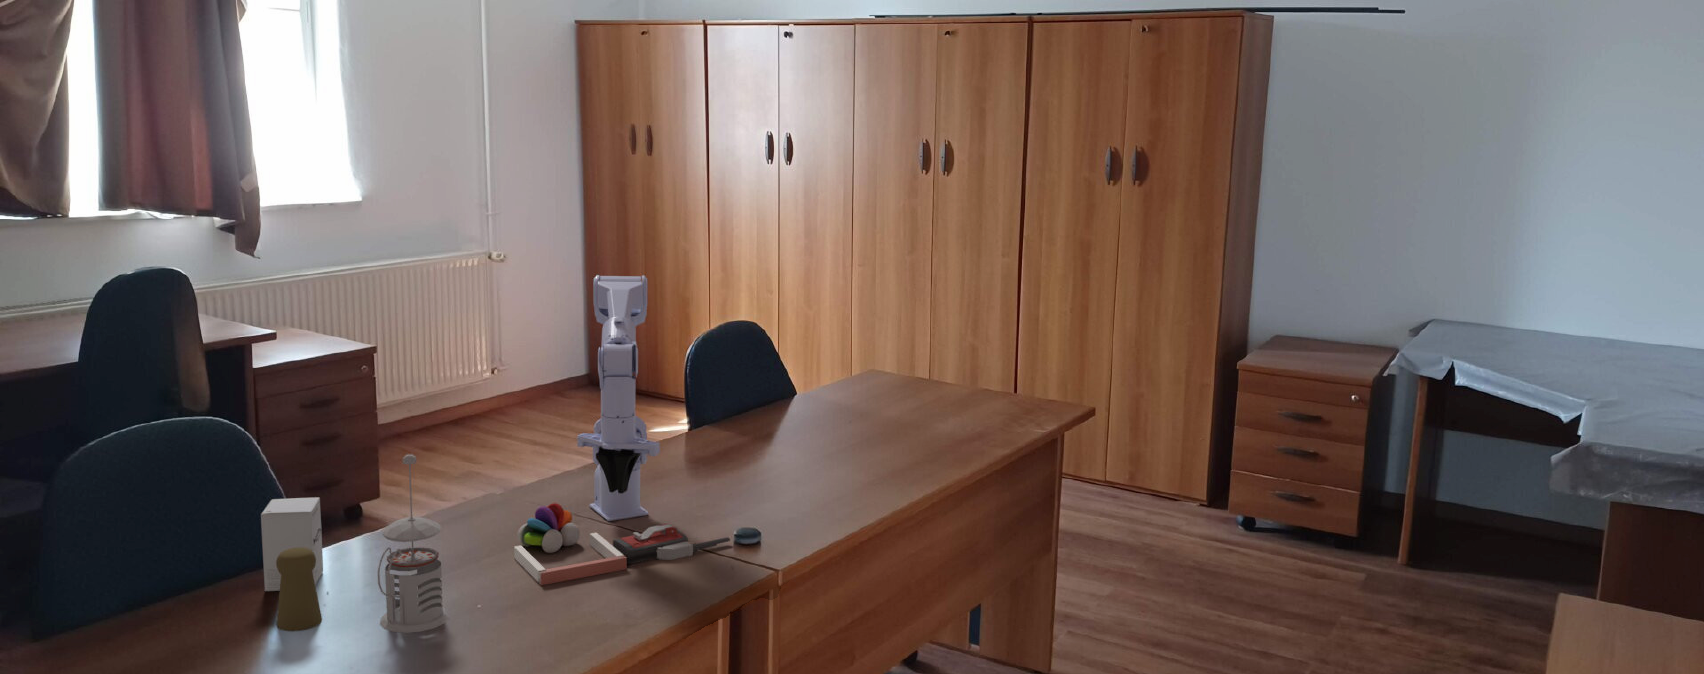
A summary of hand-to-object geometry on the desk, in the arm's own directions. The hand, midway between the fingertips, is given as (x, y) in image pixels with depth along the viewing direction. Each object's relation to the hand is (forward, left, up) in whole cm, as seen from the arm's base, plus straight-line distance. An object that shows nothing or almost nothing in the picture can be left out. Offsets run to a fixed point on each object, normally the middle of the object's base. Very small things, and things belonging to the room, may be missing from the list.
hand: (618, 491), depth 212 cm
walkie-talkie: (+6, +7, -11) cm, 14 cm away
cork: (+7, -52, -10) cm, 53 cm away
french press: (+14, -38, -10) cm, 42 cm away
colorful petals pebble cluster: (-6, -10, -10) cm, 16 cm away
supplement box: (-9, -50, -10) cm, 52 cm away
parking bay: (+3, -10, -10) cm, 14 cm away
